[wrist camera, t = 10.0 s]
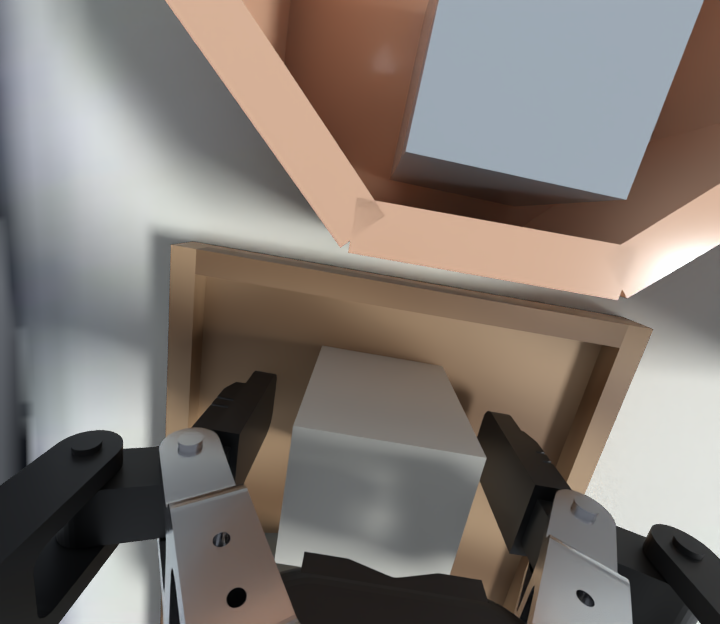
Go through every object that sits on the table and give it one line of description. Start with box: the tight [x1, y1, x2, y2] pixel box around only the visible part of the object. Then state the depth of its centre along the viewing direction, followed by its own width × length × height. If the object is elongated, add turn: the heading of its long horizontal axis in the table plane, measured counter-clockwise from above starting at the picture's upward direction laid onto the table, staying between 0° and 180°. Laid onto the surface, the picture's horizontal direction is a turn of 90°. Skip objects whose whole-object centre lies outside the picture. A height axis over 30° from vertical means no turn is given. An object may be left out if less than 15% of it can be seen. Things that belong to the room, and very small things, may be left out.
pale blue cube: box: [390, 0, 704, 207], centre depth 8 cm, size 4×4×5 cm
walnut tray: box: [160, 241, 653, 624], centre depth 15 cm, size 22×16×1 cm
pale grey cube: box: [275, 346, 486, 578], centre depth 11 cm, size 4×4×5 cm
